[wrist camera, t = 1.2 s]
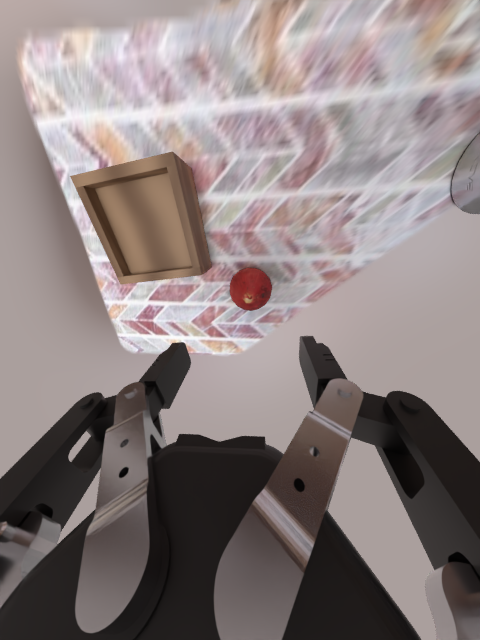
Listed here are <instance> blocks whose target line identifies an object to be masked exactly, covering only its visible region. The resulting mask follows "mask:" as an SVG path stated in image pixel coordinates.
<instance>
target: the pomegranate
mask: <svg viewBox="0 0 480 640" xmlns="http://www.w3.org/2000/svg"><path fill="white" fill-rule="evenodd" d="M271 290H272V285H271V282H270V279H269V277H268V276H267V275H266V274H265V273H264V272H263V271H261V270H258V269H256V268H246V269H243V270H240V271H239V272H237V273H236V274H235V275H234V276H233V278H232V280H231V283H230V295H231V298H232V300H233V302H234V303H235V304H236V305H237V306H238V307H240V308H242V309H244V310H250V311H252V310H256V309H259V308H261V307H262V306H264V305H265V304H266V303H267V301H268V300H269V298H270V296H271Z"/></svg>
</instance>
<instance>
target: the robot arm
mask: <svg viewBox="0 0 480 640" xmlns="http://www.w3.org/2000/svg"><path fill="white" fill-rule="evenodd" d="M452 197H453V200H454V202H455V204H456V205H457V207H458V208H460V209H461V210H462V211H464V212H468V213H470V214H471V213H472V214H480V133H479V134H478V135H477V136H476V138H475V139H474V140H473V141H472V143H471V144H470V145H469V146H468V148H467V149H466V151H465V152H464V154H463V156H462V157H461V159H460V161H459V163H458V165H457V168H456V170H455V173H454V176H453V180H452ZM299 360H300V365H301V368H302V372H303V375H304V378H305V381H306V384H307V388H308V391H309V394H310V398H311V400H312V404H313V407H314V410H313V411H312V412H308V413H307V415H306V417H305V418H304V420H303V422H302V424H301V425H300V427H299V429H298V430H297V432H296V434H295V436H294V437H293V439H292V441H291V443H290V444H289V446H288V448H287V450H286V451H285V453H284V454H283V453H281V452H280V451H279V450H277V449H275V448H273V447H271V446H269V445H266V443H265V437H257V436H241V437H237V438H233V439H229V440H225V441H221V442H218V441H215V440H212V439H210V438H207V437H204V436H201V435H193V434H179V436H178V439H177V441H176V442H174V443H172V444H170V445H167V444H166V440H165V435H164V430H163V425H162V419H161V415H160V413H159V412H160V410H161V409H169V408H170V406H171V404H172V402H173V400H174V398H175V396H176V394H177V392H178V390H179V388H180V386H181V384H182V382H183V380H184V378H185V376H186V374H187V372H188V370H189V368H190V365H191V360H190V356H189V354H188V351H187V348H186V345H185V343H183V342H181V343H172V344H171V346H170V347H169V348H168V350H166V351H164V352H163V353H162V354H160V355H159V356H158V358H157V359H156V361H155V362H154V363H153V364H152V366H150V368H149V369H148V370H147V372H146V373H145V374H144V375H143V377H142V378H141V379H140V381H139V382H135V383H131V384H129V385H127V386H126V387H124V388H123V389H122V390H121V391H120V392H119V393H118V394H117V395H115V396H112V397H108V398H104V397H103V395H102V394H101V393H99V392H97V393H92V394H89V395H87V396H85V397H84V398H82V399H81V400H79V401H78V402H77V403H76V404H75V405H74V406H73V407H72V408H71V409H70V410H69V411H68V412H67V413H66V414H65V415H64V416H63V417H62V418H61V419H60V420H59V421H58V422H57V423H56V424H55V425H54V426H53V427H52V428H51V429H50V430H49V431H48V432H47V433H46V434H45V435H44V436H43V437H42V438H41V439H40V440H39V441H38V442H37V443H36V444H35V445H34V446H33V447H32V448H31V449H30V450H29V451H28V452H27V453H26V454H25V455H24V456H23V457H22V458H21V459H20V460H19V461H18V462H17V463H16V464H15V465H14V466H13V467H12V468H11V469H10V470H9V471H8V472H7V473H6V474H5V475H4V476H3V477H2V478H1V479H0V640H421V638H420V637H419V635H418V634H417V632H416V631H415V629H414V628H413V626H412V625H411V624H410V622H409V621H408V620H407V618H406V617H405V615H404V614H403V613H402V611H401V610H400V608H399V607H398V606H397V604H396V603H395V602H394V601H393V599H392V598H391V596H390V595H389V594H388V592H387V591H386V590H385V588H384V587H383V585H382V584H381V583H380V581H379V580H378V579H377V577H376V576H375V575H374V573H373V572H372V570H371V569H370V568H369V566H368V565H367V564H366V562H365V561H364V560H363V558H362V557H361V555H360V554H359V553H358V551H357V550H356V549H355V547H354V546H353V545H352V543H351V542H350V541H349V539H348V538H347V537H346V535H345V534H344V532H343V531H342V530H341V528H340V527H339V526H338V524H337V523H336V522H335V520H334V519H333V517H332V516H331V515H330V513H329V512H328V511H327V510H328V507H329V504H330V501H331V498H332V495H333V492H334V489H335V486H336V482H337V480H338V476H339V473H340V470H341V467H342V464H343V460H344V458H345V455H346V451H347V448H348V445H349V442H350V439H351V437H352V438H355V439H358V440H360V441H363V442H366V443H370V444H372V445H375V447H376V449H377V451H378V453H379V455H380V457H381V459H382V461H383V463H384V465H385V468H386V469H387V472H388V474H389V476H390V478H391V480H392V482H393V484H394V486H395V488H396V490H397V493H398V494H399V497H400V499H401V501H402V503H403V505H404V507H405V509H406V511H407V513H408V516H409V517H410V520H411V522H412V524H413V526H414V528H415V530H416V532H417V534H418V536H419V538H420V540H421V543H422V545H423V547H424V549H425V551H426V553H427V555H428V557H429V559H430V561H431V563H432V566H433V568H434V571H432V572H431V573H429V575H428V576H427V578H426V583H425V590H426V596H427V601H428V604H429V607H430V610H431V613H432V616H433V619H434V623H435V628H436V635H437V640H480V462H479V461H478V459H477V458H476V457H475V456H474V455H473V454H472V453H471V452H470V451H469V450H468V448H467V447H466V446H465V445H464V444H463V443H462V442H461V440H460V439H459V438H458V437H457V436H456V435H455V434H454V433H453V432H452V430H450V428H449V427H448V426H447V425H446V424H445V423H444V421H443V420H442V419H441V418H440V417H439V416H438V415H437V414H436V413H435V411H434V410H433V409H432V408H431V407H430V406H429V405H428V404H427V403H426V402H425V401H423V400H422V399H420V398H418V397H416V396H415V395H412V394H410V393H407V392H402V391H392V392H390V393H389V394H388V395H387V397H382V396H377V395H373V394H369V393H366V392H363V391H362V390H361V389H360V388H359V387H358V386H357V385H356V384H355V383H353V382H351V381H349V380H347V378H346V376H345V374H344V373H343V371H342V369H341V368H340V366H339V365H338V363H337V361H336V360H335V358H334V356H333V355H332V353H331V351H330V349H329V348H328V347H327V346H325V345H324V344H323V343H316V341H315V339H314V337H313V336H301V337H300V350H299ZM85 431H87V432H88V433H89V434H90V435H91V437H90V438H89V440H88V441H87V442H86V444H85V445H84V446H83V447H82V449H81V450H80V451H79V453H78V454H77V455H76V457H75V458H74V459H73V461H72V462H70V461H69V459H68V455H69V452H70V450H71V449H72V447H73V446H74V445H75V444H76V442H77V441H78V440H79V439H80V437H81V436H82V435H83V434H84V432H85ZM100 468H101V471H100V479H99V487H98V494H97V503H96V509H95V510H94V511H93V512H92V513H91V514H90V515H89V516H88V517H87V518H86V519H84V520H83V521H82V522H81V523H80V524H79V525H78V526H77V527H76V528H75V529H74V530H73V531H72V532H71V533H70V534H68V535H67V536H66V537H65V538H64V539H63V540H62V541H61V542H60V543H59V544H57V542H58V540H59V537H60V533H61V531H62V529H63V528H64V526H65V524H66V523H67V521H68V519H69V518H70V516H71V515H72V513H73V511H74V510H75V508H76V507H77V505H78V503H79V502H80V500H81V499H82V497H83V495H84V494H85V492H86V490H87V489H88V487H89V486H90V484H91V482H92V481H93V479H94V478H95V476H96V474H97V473H98V471H99V469H100Z"/></svg>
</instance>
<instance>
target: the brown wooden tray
mask: <svg viewBox="0 0 480 640" xmlns="http://www.w3.org/2000/svg"><path fill="white" fill-rule="evenodd" d="M70 177H71V179H72V181H73V183H74V185H75V188H76V190H77V192H78V194H79V196H80V198H81V200H82V203H83V205H84V207H85V209H86V211H87V213H88V215H89V218H90V220H91V222H92V224H93V226H94V228H95V230H96V233H97V235H98V237H99V239H100V241H101V243H102V245H103V248H104V250H105V252H106V254H107V256H108V258H109V260H110V263H111V265H112V267H113V269H114V271H115V273H116V276H117V278H118V280H119V282H120V284H128V283H137V282H146V281H154V280H163V279H171V278H180V277H189V276H197V275H202V274H204V273H205V272H206V271H207V270H209V269H210V268H211V267H212V266H211V261H210V256H209V252H208V247H207V242H206V237H205V232H204V227H203V222H202V217H201V213H200V208H199V203H198V198H197V193H196V188H195V183H194V178H193V173H192V169H191V168H190V167H189V166H188V165H187V164H186V163H185V162H184V161H183V160H181V159H180V158H179V157H178V156H177V155H176V154H175V153H174V152H169V153H165V154H161V155H157V156H152V157H148V158H144V159H140V160H136V161H132V162H127V163H123V164H119V165H115V166H111V167H107V168H103V169H98V170H94V171H90V172H86V173H82V174H78V175H73V176H70Z"/></svg>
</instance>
